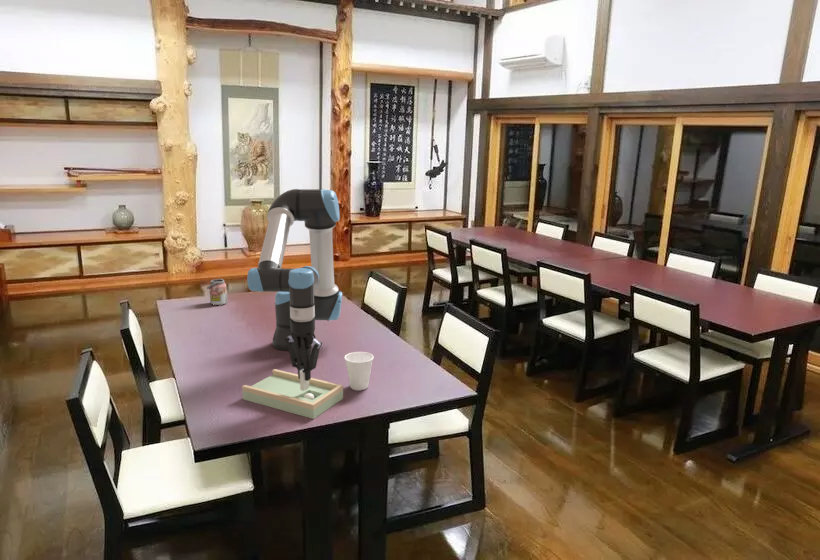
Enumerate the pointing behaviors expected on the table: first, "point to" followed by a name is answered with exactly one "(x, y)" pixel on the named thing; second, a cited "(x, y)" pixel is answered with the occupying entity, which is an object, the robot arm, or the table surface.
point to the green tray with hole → (293, 394)
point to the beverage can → (218, 292)
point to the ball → (309, 396)
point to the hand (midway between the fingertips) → (304, 388)
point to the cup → (359, 369)
